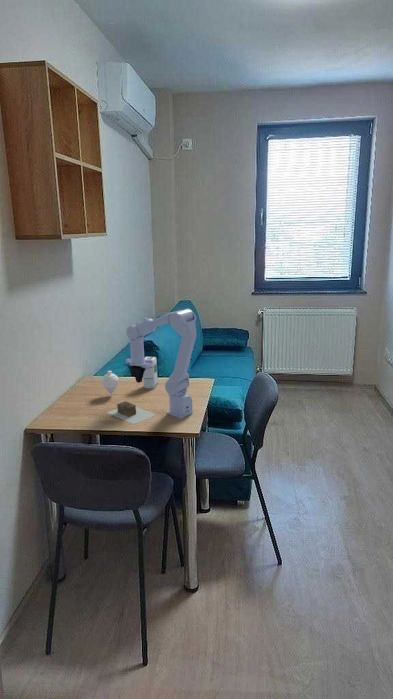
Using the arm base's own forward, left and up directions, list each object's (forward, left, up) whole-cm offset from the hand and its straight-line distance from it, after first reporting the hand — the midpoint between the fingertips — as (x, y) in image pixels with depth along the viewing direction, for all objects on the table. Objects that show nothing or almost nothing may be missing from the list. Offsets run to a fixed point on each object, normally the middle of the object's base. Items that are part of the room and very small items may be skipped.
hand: (139, 381), depth 199 cm
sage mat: (-6, +10, -10) cm, 16 cm away
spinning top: (+19, +2, -11) cm, 22 cm away
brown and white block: (-8, +11, -8) cm, 16 cm away
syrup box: (+14, -18, -11) cm, 25 cm away
